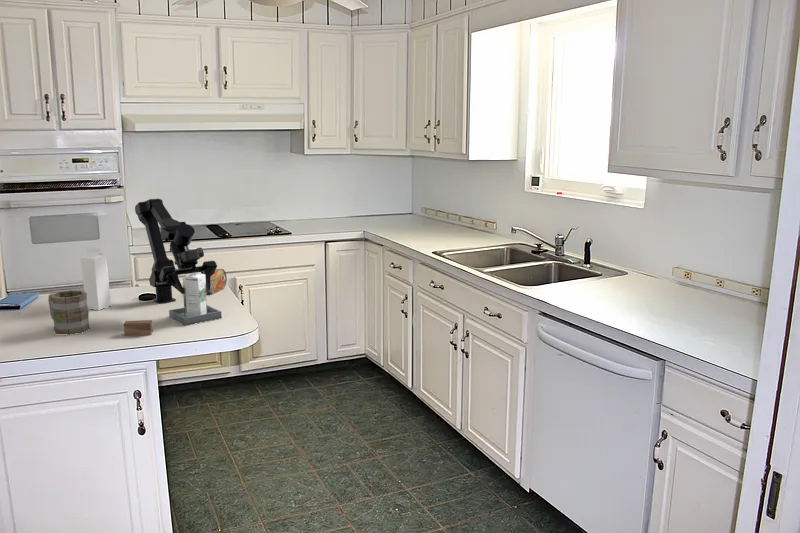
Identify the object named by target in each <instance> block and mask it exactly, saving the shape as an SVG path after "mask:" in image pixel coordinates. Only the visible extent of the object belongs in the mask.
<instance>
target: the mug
mask: <svg viewBox="0 0 800 533" xmlns="http://www.w3.org/2000/svg"><path fill="white" fill-rule="evenodd" d="M48 304H49V312H50V313H49V314H50V317H51V320H53V332H54V331H55V332H54V334H55V335H56V334H69V335H68V336H71V335H70V334H73V335H76V334H75V333H79V334H82V332H83V333H85V332H87V331H89V330H91V327H90V326H91V325H90V322H89V321H90V320H89V309H88V307H87V293H86V292H85V291H84V290H76V289H70V290H64V291H57V292H53V293H51V294H49V295H48ZM88 329H89V330H88ZM86 330H87V331H86ZM84 331H85V332H84Z"/></svg>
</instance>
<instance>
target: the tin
mask: <svg viewBox="0 0 800 533" xmlns="http://www.w3.org/2000/svg"><path fill="white" fill-rule="evenodd" d="M227 279H228V278H227V274H226V271H225V270H224V269H223V268H216V270H215V272H214V274H213V275H211V277H210V290H208V288H207V287H206V294H211V295H212V294H213V295H214V294H216V293H218V292H220V291H222V290H224V289H225V288H226V286H227V281H228V280H227Z"/></svg>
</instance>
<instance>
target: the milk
mask: <svg viewBox="0 0 800 533" xmlns="http://www.w3.org/2000/svg"><path fill="white" fill-rule="evenodd" d="M85 249H86V252H85V253H83V255H82V256H81V257H80V262H81V272H82V281H83V282H82V284H83V291H85V292H86V293H87V307H88V310H91V309H94V310H93V311H101V309H102V310H103V308H105V309H107V308H106V307H108V308H110V307H109V306H111V305H112V304H111V293H110V292H111V291H110V281H109V280H110V279H109V272H108V271H109V269H108V258H107V255H105V254H104V253H102V252H101V249H100V248H97V247H87V246H86V248H85Z"/></svg>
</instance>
